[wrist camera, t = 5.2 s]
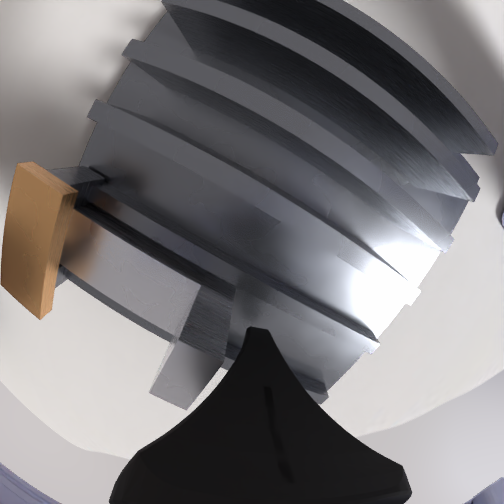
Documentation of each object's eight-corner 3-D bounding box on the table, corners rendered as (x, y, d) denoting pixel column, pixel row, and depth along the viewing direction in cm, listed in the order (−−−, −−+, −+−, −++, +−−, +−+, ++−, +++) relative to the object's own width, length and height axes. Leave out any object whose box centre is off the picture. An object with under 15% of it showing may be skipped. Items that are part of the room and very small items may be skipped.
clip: (235, 284, 10) (224, 362, 6) (207, 329, 11) (186, 410, 7) (66, 184, 9) (-13, 204, 5) (52, 233, 10) (-17, 269, 6)
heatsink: (464, 174, 10) (534, 189, 5) (310, 387, 14) (324, 456, 9) (191, -2, 8) (163, -64, 3) (61, 256, 12) (0, 295, 7)
